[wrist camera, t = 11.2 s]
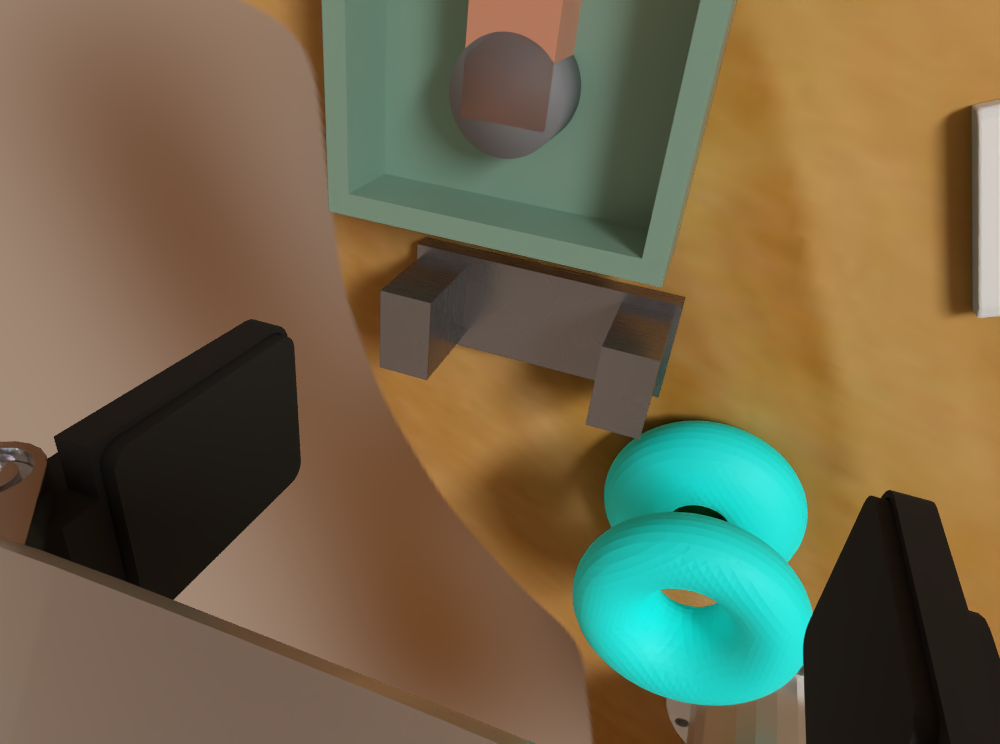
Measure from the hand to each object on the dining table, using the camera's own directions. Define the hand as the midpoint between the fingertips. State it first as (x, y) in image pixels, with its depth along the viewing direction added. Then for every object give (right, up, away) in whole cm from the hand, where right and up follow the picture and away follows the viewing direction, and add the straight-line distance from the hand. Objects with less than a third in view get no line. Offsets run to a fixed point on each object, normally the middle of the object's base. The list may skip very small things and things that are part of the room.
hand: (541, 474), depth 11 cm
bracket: (+2, +5, +24) cm, 24 cm away
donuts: (+10, -4, +26) cm, 28 cm away
